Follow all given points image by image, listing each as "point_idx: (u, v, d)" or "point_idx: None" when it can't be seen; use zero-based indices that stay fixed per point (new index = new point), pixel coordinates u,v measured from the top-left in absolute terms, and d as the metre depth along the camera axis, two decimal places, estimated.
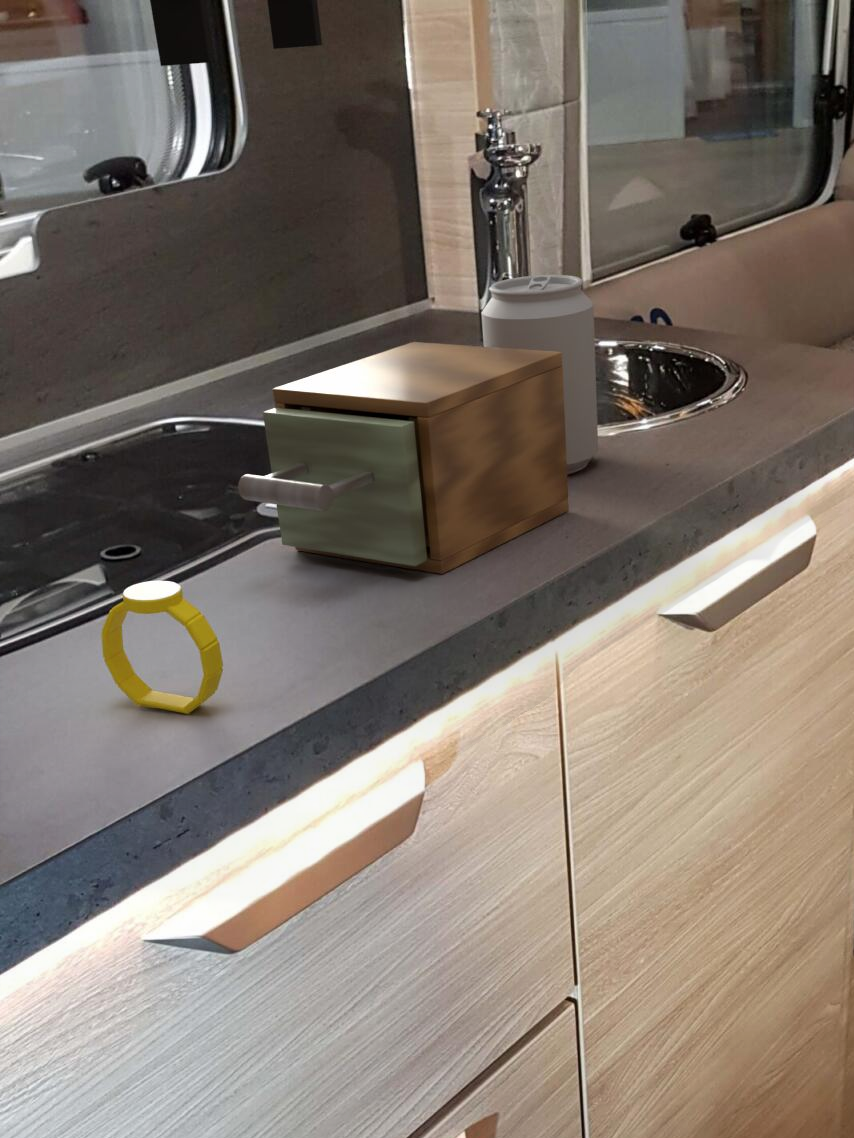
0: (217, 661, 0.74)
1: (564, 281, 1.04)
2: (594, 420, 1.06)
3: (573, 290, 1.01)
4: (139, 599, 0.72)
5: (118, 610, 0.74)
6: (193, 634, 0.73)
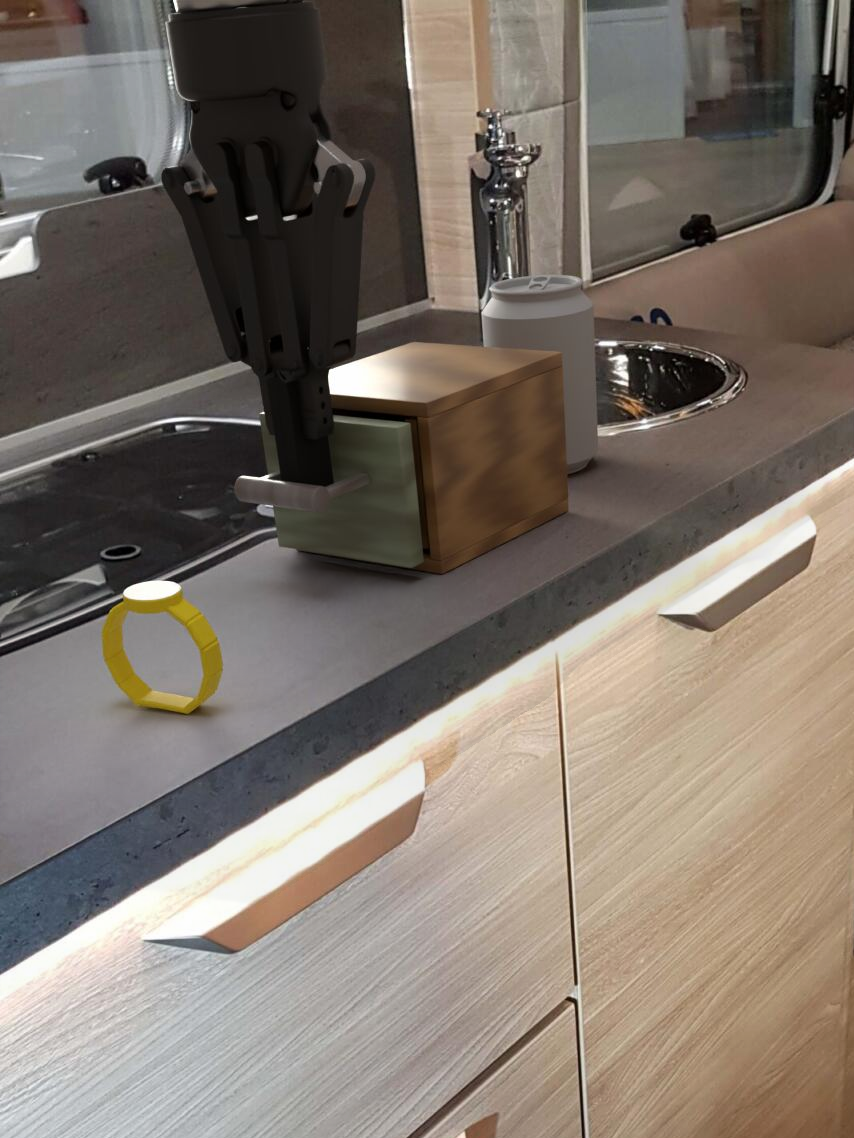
0: (217, 661, 0.74)
1: (564, 281, 1.04)
2: (594, 420, 1.06)
3: (573, 290, 1.01)
4: (139, 599, 0.72)
5: (118, 610, 0.74)
6: (193, 634, 0.73)
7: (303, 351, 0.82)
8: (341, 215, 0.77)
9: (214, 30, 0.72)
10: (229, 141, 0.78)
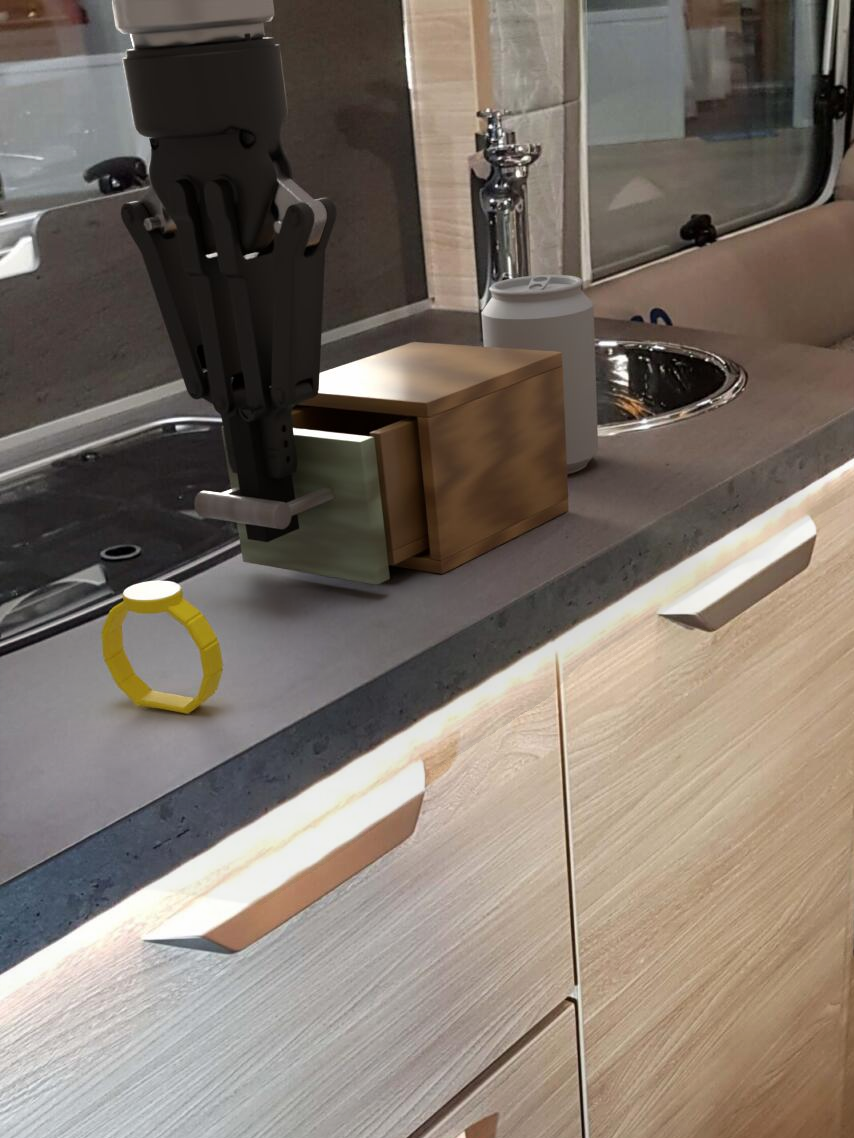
0: (217, 661, 0.74)
1: (564, 281, 1.04)
2: (594, 420, 1.06)
3: (573, 290, 1.01)
4: (139, 599, 0.72)
5: (118, 610, 0.74)
6: (193, 634, 0.73)
7: (265, 390, 0.81)
8: (301, 254, 0.75)
9: (170, 68, 0.71)
10: (188, 178, 0.76)
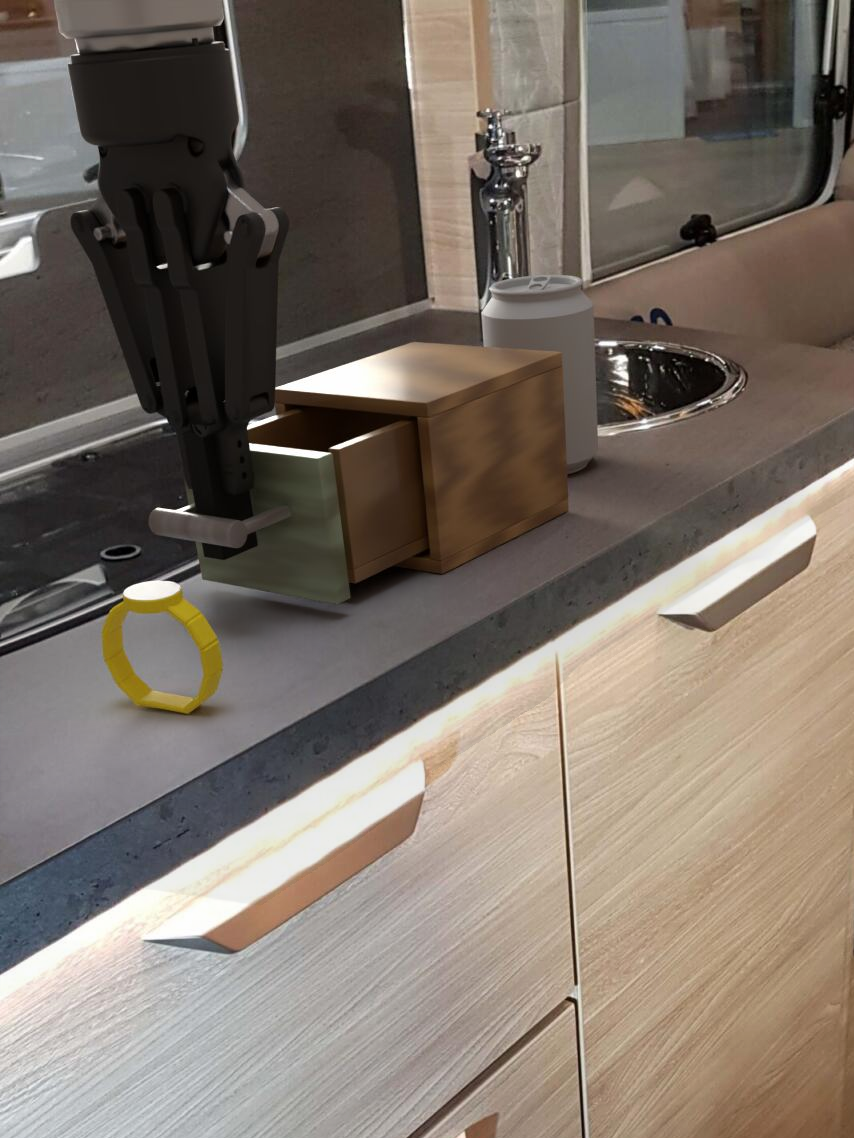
0: (217, 661, 0.74)
1: (564, 281, 1.04)
2: (594, 420, 1.06)
3: (573, 290, 1.01)
4: (139, 599, 0.72)
5: (118, 610, 0.74)
6: (193, 634, 0.73)
7: (219, 404, 0.78)
8: (253, 265, 0.73)
9: (115, 74, 0.69)
10: (137, 187, 0.74)
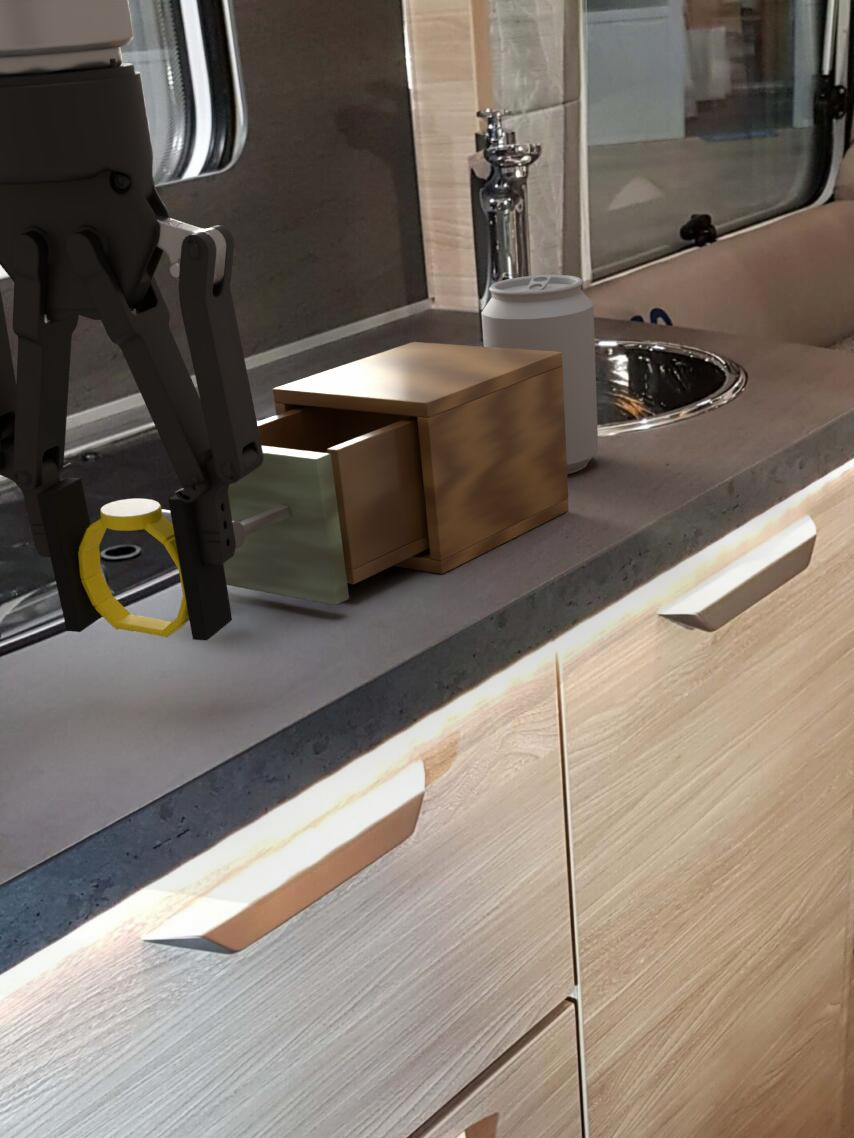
0: None
1: (564, 281, 1.04)
2: (594, 420, 1.06)
3: (573, 290, 1.01)
4: (117, 516, 0.70)
5: (95, 528, 0.72)
6: (172, 553, 0.71)
7: (199, 460, 0.68)
8: (210, 293, 0.64)
9: (30, 100, 0.59)
10: (42, 233, 0.64)
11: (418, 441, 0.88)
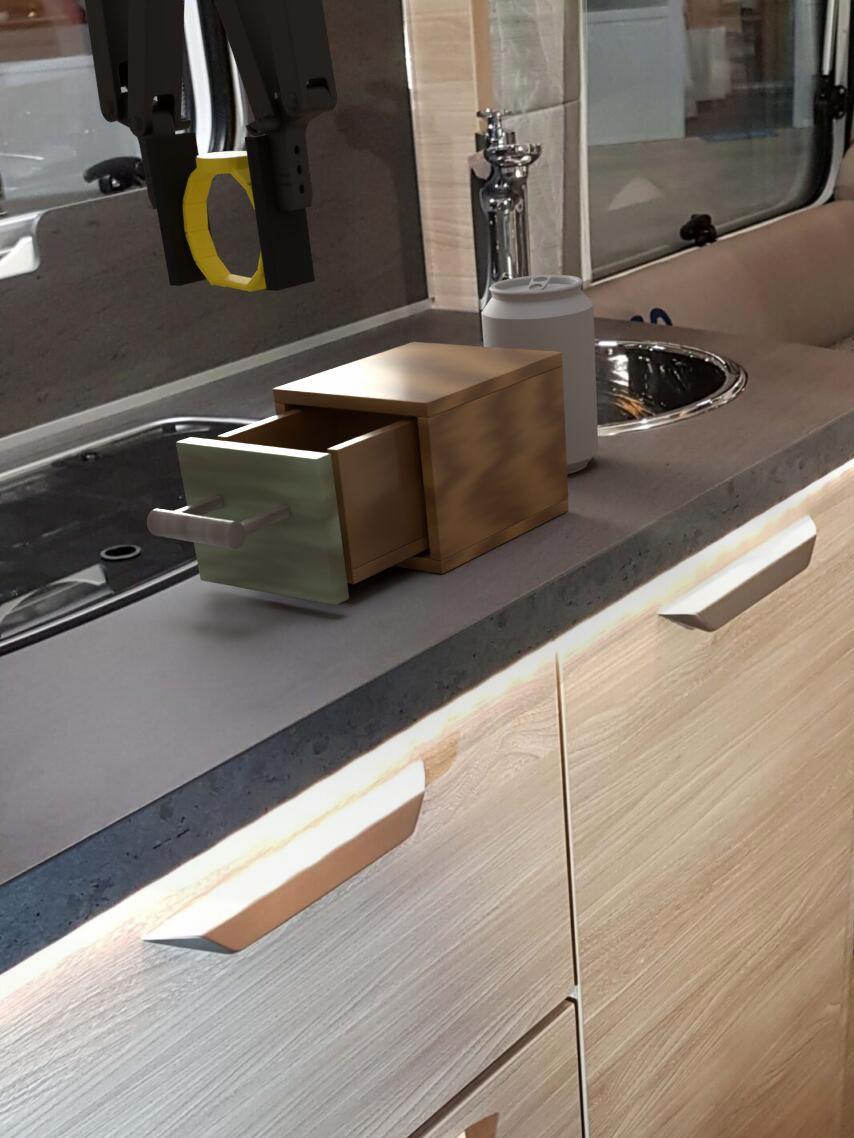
0: None
1: (564, 281, 1.04)
2: (594, 420, 1.06)
3: (573, 290, 1.01)
4: (206, 158, 0.73)
5: (194, 176, 0.75)
6: (252, 198, 0.73)
7: (270, 94, 0.70)
8: None
9: None
10: None
11: (418, 441, 0.88)
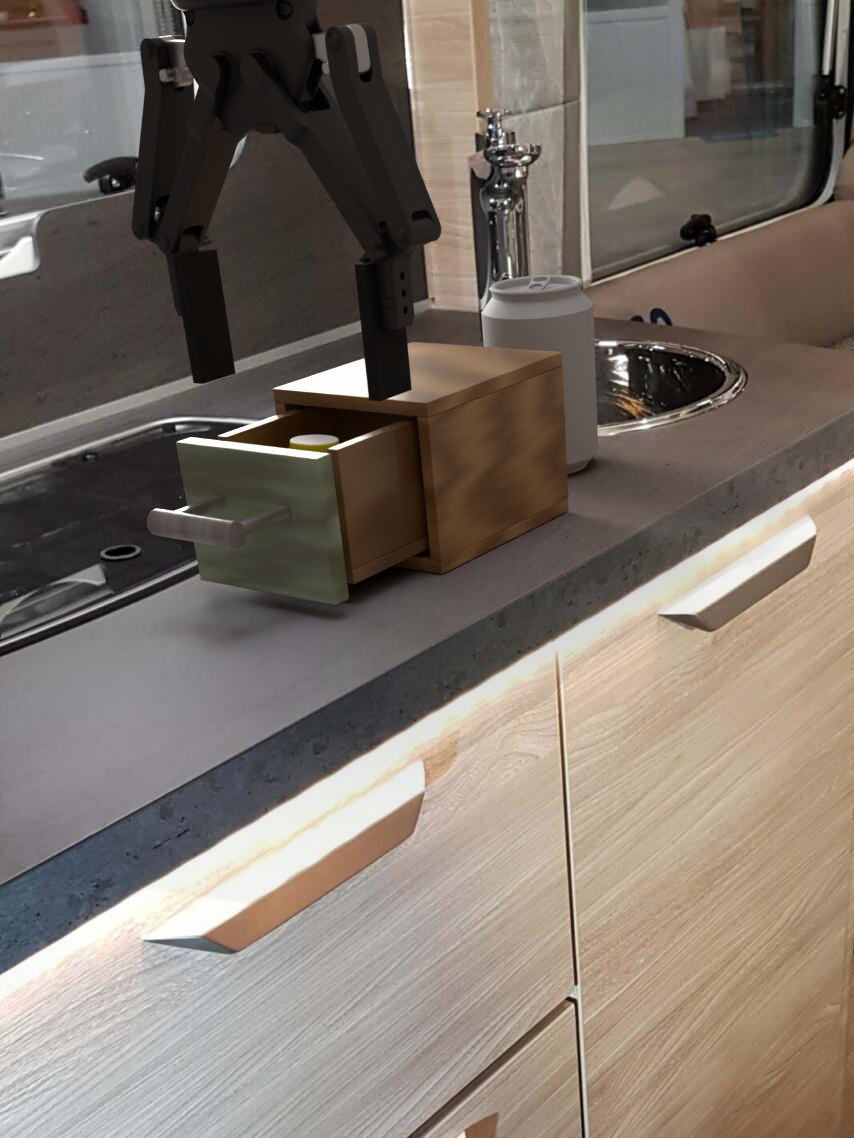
0: None
1: (564, 281, 1.04)
2: (594, 420, 1.06)
3: (573, 290, 1.01)
4: (299, 444, 0.86)
5: None
6: None
7: (375, 226, 0.76)
8: (358, 78, 0.73)
9: None
10: (229, 61, 0.76)
11: (418, 441, 0.88)
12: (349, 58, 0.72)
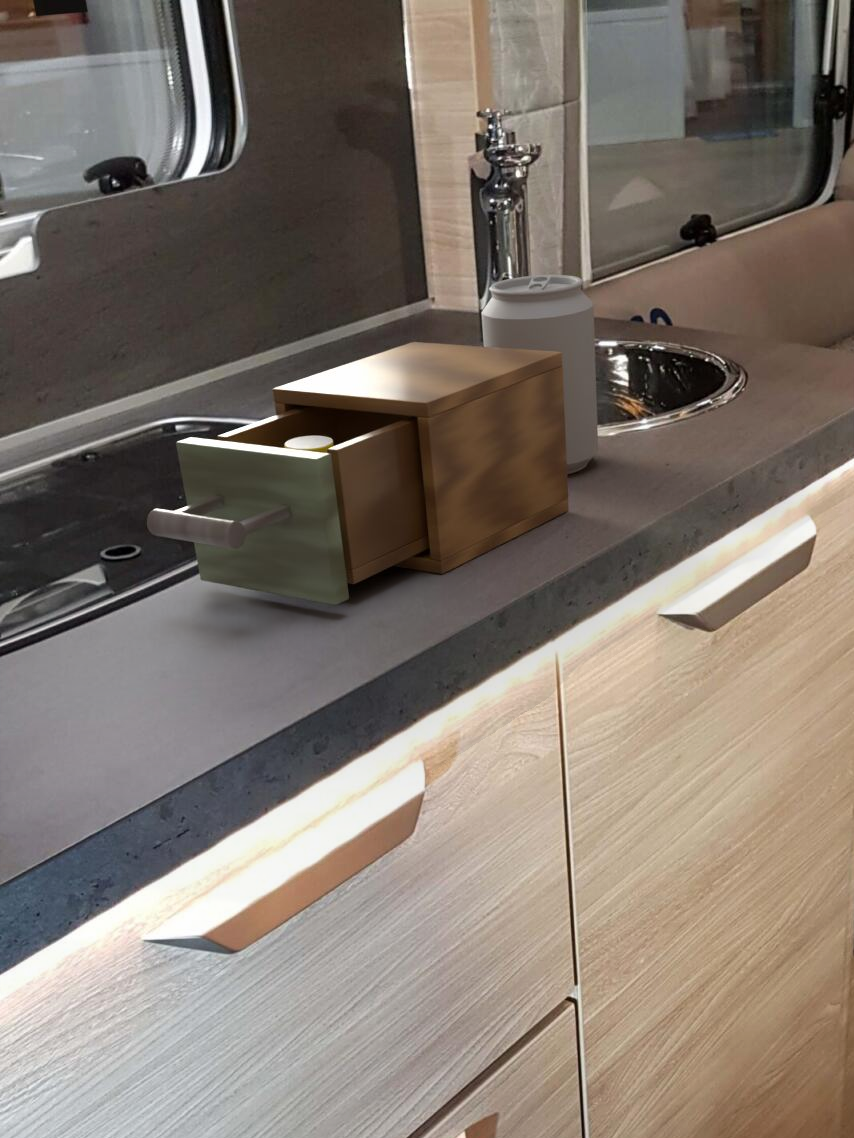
0: None
1: (564, 281, 1.04)
2: (594, 420, 1.06)
3: (573, 290, 1.01)
4: (294, 448, 0.86)
5: None
6: None
7: None
8: None
9: None
10: None
11: (418, 441, 0.88)
12: None
